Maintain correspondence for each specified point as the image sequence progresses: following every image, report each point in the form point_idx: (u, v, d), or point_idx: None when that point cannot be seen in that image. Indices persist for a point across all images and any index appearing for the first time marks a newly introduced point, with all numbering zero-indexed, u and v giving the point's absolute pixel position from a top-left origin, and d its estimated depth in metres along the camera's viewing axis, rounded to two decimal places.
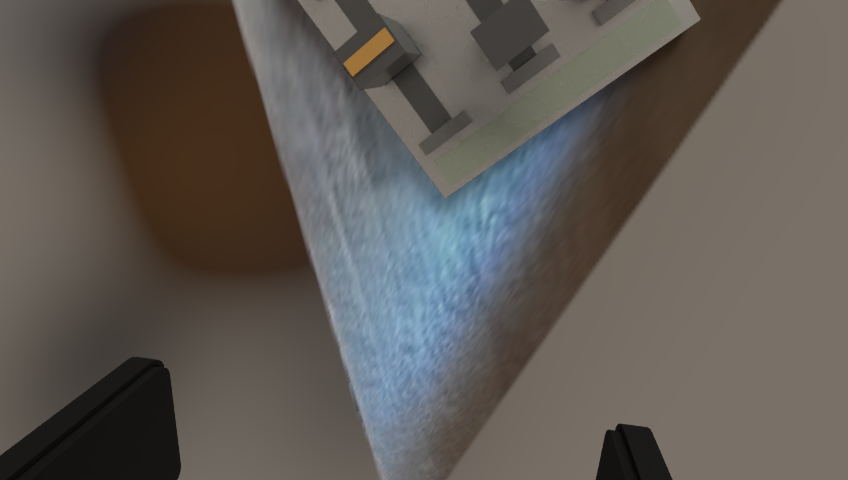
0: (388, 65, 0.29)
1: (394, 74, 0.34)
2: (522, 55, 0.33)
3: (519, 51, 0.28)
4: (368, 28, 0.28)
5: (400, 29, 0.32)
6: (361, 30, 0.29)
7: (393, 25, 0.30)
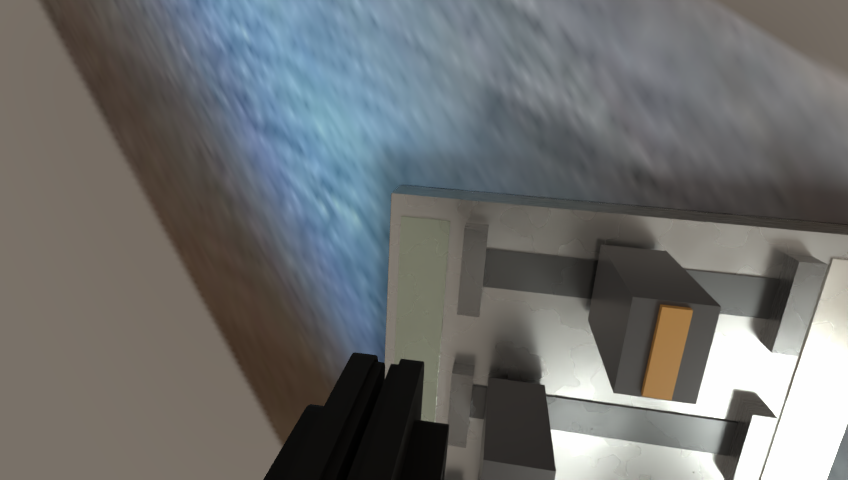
0: (621, 358, 0.16)
1: (598, 281, 0.20)
2: (481, 404, 0.24)
3: None
4: (693, 378, 0.16)
5: None
6: (701, 367, 0.16)
7: None
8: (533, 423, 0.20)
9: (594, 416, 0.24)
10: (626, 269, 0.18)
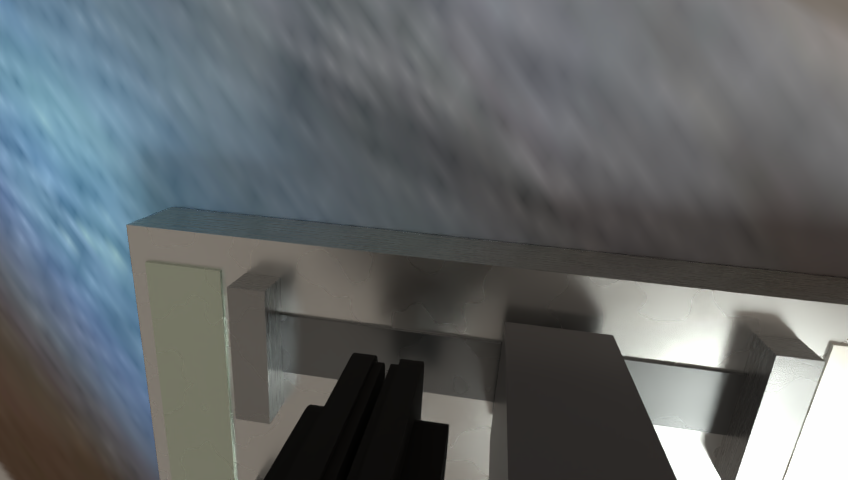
0: None
1: (498, 386, 0.12)
2: None
3: None
4: None
5: None
6: None
7: None
8: None
9: None
10: (525, 394, 0.10)
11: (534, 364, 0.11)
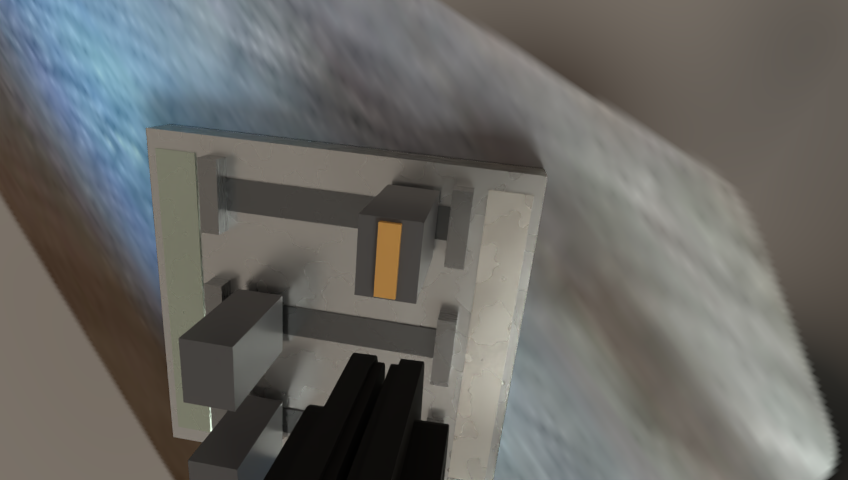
0: (357, 266, 0.20)
1: None
2: None
3: (182, 368, 0.23)
4: (411, 281, 0.20)
5: None
6: (416, 273, 0.20)
7: None
8: (246, 318, 0.25)
9: (328, 324, 0.28)
10: (382, 199, 0.22)
11: (392, 194, 0.23)
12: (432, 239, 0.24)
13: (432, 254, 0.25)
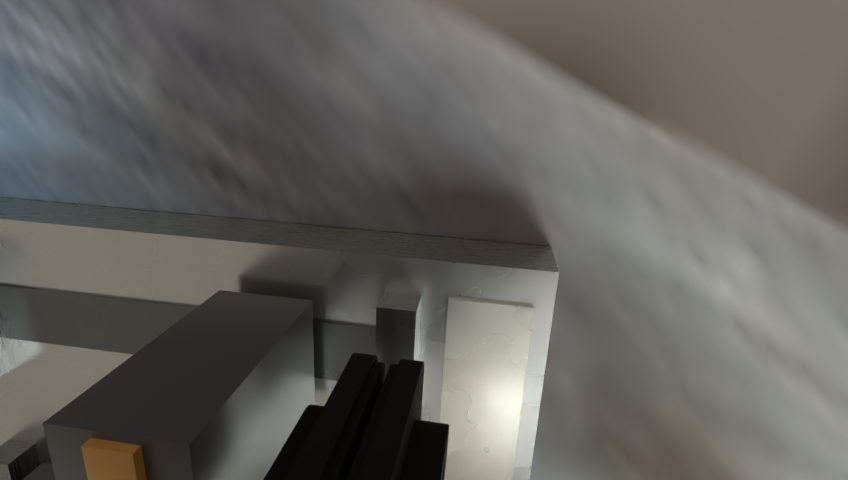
0: None
1: None
2: None
3: None
4: None
5: None
6: None
7: None
8: None
9: None
10: (162, 346, 0.11)
11: (202, 323, 0.12)
12: (297, 396, 0.13)
13: None
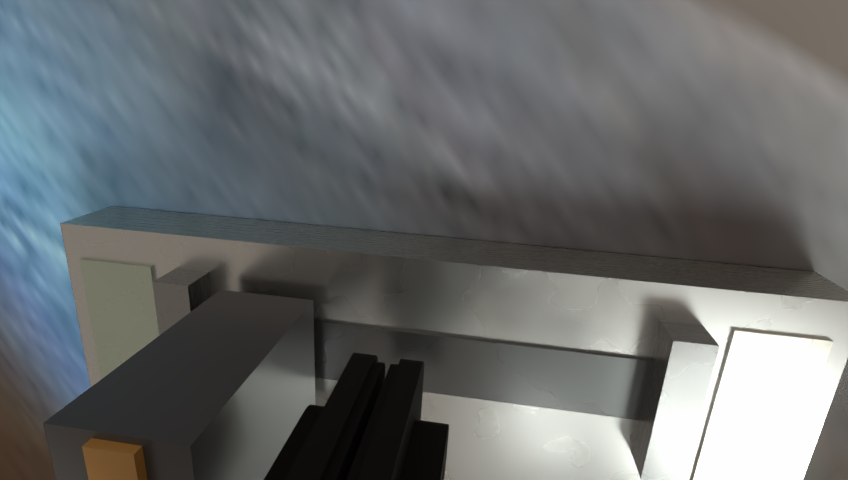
0: None
1: None
2: None
3: None
4: None
5: None
6: None
7: None
8: None
9: None
10: (163, 346, 0.11)
11: (203, 323, 0.12)
12: (297, 396, 0.13)
13: None
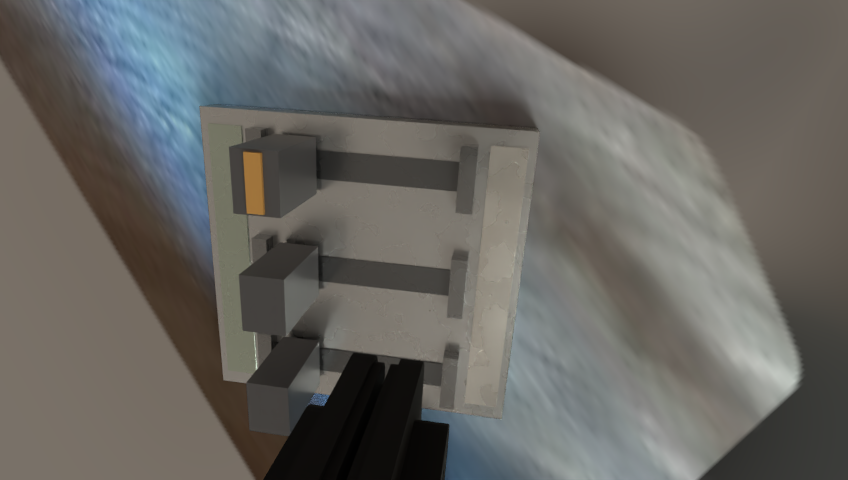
0: (233, 189, 0.26)
1: None
2: None
3: (242, 301, 0.28)
4: (274, 200, 0.26)
5: None
6: (277, 192, 0.25)
7: None
8: (291, 261, 0.30)
9: (358, 270, 0.33)
10: (258, 140, 0.27)
11: (271, 138, 0.28)
12: (309, 175, 0.29)
13: (314, 190, 0.31)
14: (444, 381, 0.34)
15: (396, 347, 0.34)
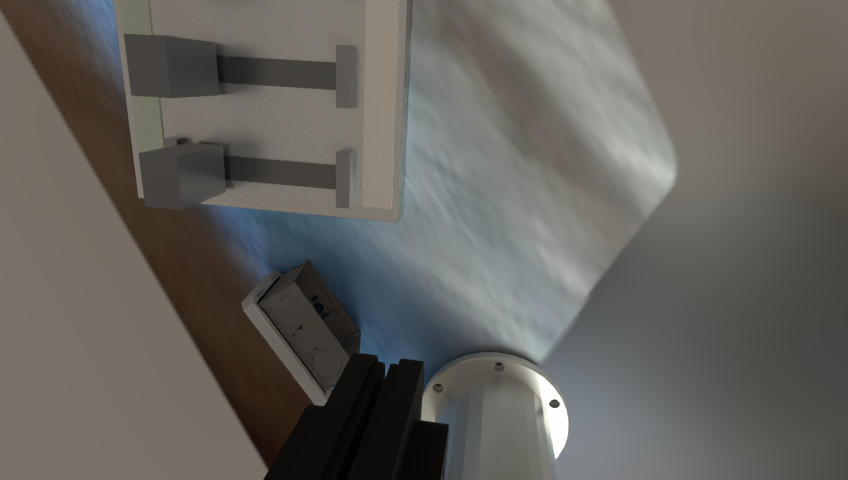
0: None
1: None
2: None
3: (128, 62, 0.30)
4: None
5: None
6: None
7: None
8: None
9: (254, 69, 0.35)
10: None
11: None
12: None
13: None
14: (338, 178, 0.35)
15: (295, 150, 0.36)
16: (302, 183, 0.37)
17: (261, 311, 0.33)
